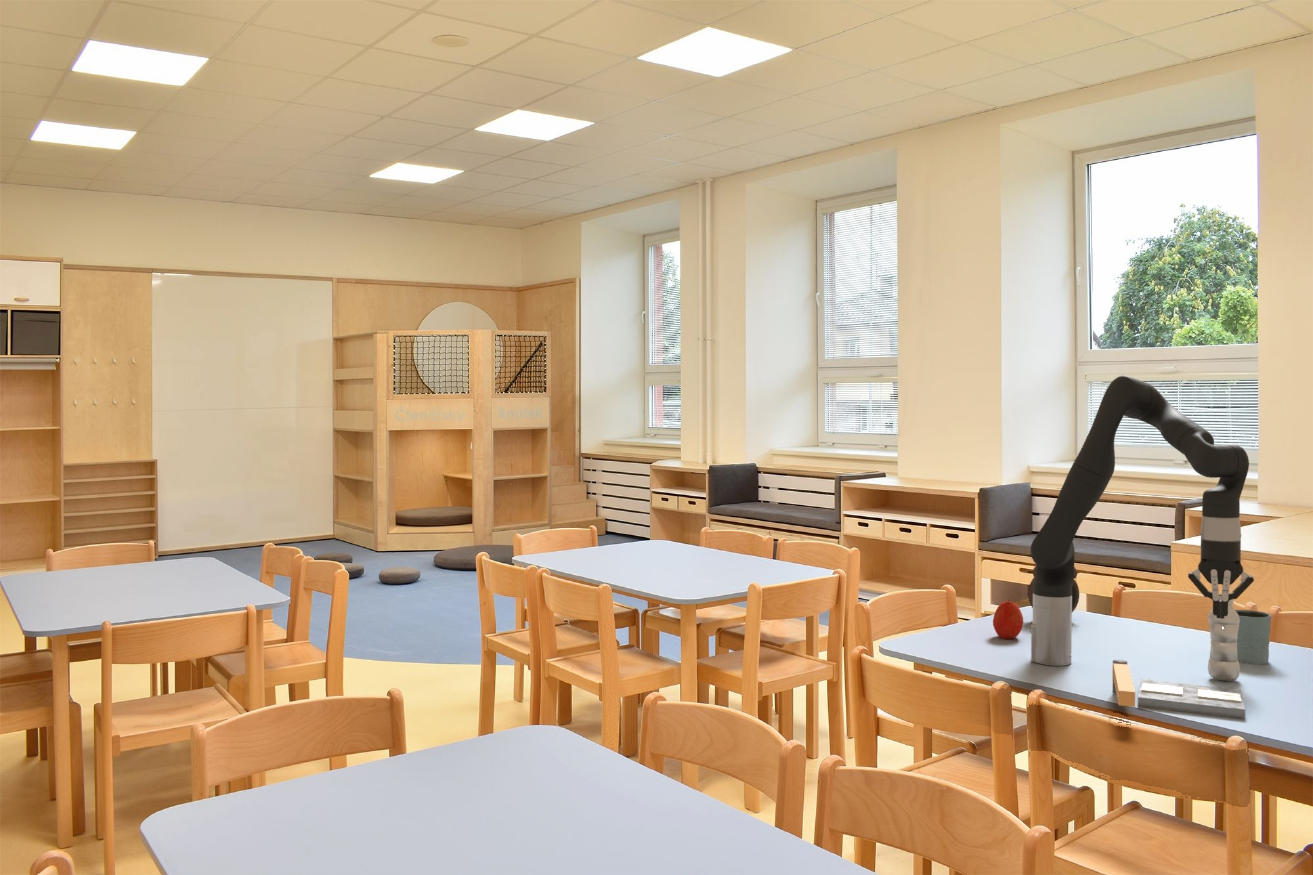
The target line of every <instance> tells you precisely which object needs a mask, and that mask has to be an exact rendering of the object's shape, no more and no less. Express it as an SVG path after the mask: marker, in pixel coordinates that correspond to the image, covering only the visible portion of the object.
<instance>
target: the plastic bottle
mask: <svg viewBox="0 0 1313 875" xmlns="http://www.w3.org/2000/svg"><path fill="white" fill-rule="evenodd" d="M1221 596H1222V593H1219V600H1221ZM1234 603H1235V602H1234V599H1232V600H1230V601H1229V602H1228V615H1227V616H1224V619H1221V618H1217V617H1216V615H1214V614H1213V608H1212V609H1211V610H1210V611H1209V612H1208V615H1207V619H1208V620H1207V621H1208V626H1209V627H1208V628H1209V633H1210V634H1209V636H1210V650H1209V658H1208V662H1207V671H1208V674H1209V675H1210V677H1211V678H1213V679H1214V680H1219V681H1224V682H1228V681H1230V682H1231V681H1237V679H1238V678H1239V677H1240V672H1241V668H1240V667H1241V666H1240V662H1238V655H1237V635H1238V629H1239V622H1240V618H1239V615H1238V614H1237V612H1236V611H1235V610H1236V609H1235V608H1234V607H1233V605H1234Z"/></svg>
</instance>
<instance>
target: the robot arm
mask: <svg viewBox="0 0 1313 875" xmlns="http://www.w3.org/2000/svg"><path fill="white" fill-rule="evenodd" d="M1124 417H1126V418H1129V419H1133V420H1138V421H1141V422H1144V423H1146V424H1148V425H1151V426H1153V427H1154V428H1155V429H1156V430H1158V431H1159V432H1160V434H1161V436H1162V438H1163V439H1164V440H1165V441H1166V442H1167V443H1168V444H1169V445H1170V446H1171V447H1173V448H1175V449H1176V450H1177V451H1178V452H1179V453H1181V454H1182V455H1184V457H1185V458H1186V459H1187V461H1188V463H1189V464H1190V465H1191V467H1192V469H1193V470H1194V471H1195V472H1196V473H1198V474H1199V476H1200V475H1201V476H1203V477H1205V478H1209V479H1210V478H1211V479H1214V478H1219V479H1218V482H1217V484H1216V485H1215V486H1214V487H1211V488H1208V489H1206V490H1205V491H1203V493H1202V507H1201V508H1202V509H1201V510H1202V512H1201V514H1202V515H1201V524H1200V561H1199V563H1198V565H1197V568H1196V569H1194V570H1193V571H1190V572H1188V573H1187V577H1188V579H1189V581H1191V583H1193V585H1194V586H1195V588H1197V590H1198V591H1199V592H1200V594H1201V595H1203V597H1204V598H1209V599H1210V600H1212V609H1213V614H1214V615H1216V617H1217V618H1221V619H1224V616H1227V615H1228V602H1229V601H1230V600H1232V599H1233V600H1237V599H1238V598H1239V597H1240V596H1241V595H1242V594H1243V593H1244V592H1246V590H1247V589H1248V588H1249V587H1250V585H1252V584H1253V582H1255V579H1254V576H1253V575H1250V574H1248V572H1245V571H1244V568H1243V565H1242V563H1241V561H1242V560H1241V558H1242V557H1241V556H1242V555H1241V554H1242V553H1241V552H1242V551H1241V548H1242V545H1241V544H1242V526H1241V521H1240V516H1241V515H1240V514H1241V513H1240V512H1241V510H1240V509H1241V508H1240V507H1241V506H1240V501H1241V495H1242V494H1243V493H1242V492H1243V489H1244V487H1245V486H1244V485H1245V483H1246V479H1247V476H1248V472H1249V469H1250V468H1249V467H1250V459H1249V456H1248V453H1247V452H1246V450H1245V449H1244V448H1243V447H1242V446H1240V445H1238V444H1215V439H1214V437H1213V435H1212V434H1211V433H1210V432H1209V431H1208V430H1206V429H1205V428H1204V427H1203V426H1201V425H1199V424H1198V423H1197V422H1195V421H1193V420H1192V419H1191V418H1189V417H1188V416H1186V415H1185V414H1183V413H1181V412H1180V411H1179V410H1177V409H1176V407H1174V406H1173V405H1172V404H1171V403H1170V402H1169V401H1168V400H1167V399H1166V398H1165V397H1164V395H1162V394H1161V393H1160V391H1159V390H1158V389H1157V388H1156V387H1155V386H1153V385H1152V384H1151V383H1148V382H1146V381H1143V380H1140V379H1137V378H1134V377H1132V376H1129V375H1120V376H1117V377H1116V378H1114V379H1113V380H1112V381H1111V382H1110V384H1109V385H1108V386H1107V388H1106V390H1105V392H1104V394H1103V396H1102V399H1101V401H1100V404H1099V406H1098V409H1097V412H1096V415H1095V417H1094V420H1093V422H1092V425H1091V427H1090V429H1089V432H1088V433H1087V436H1086V437H1085V441H1084V442H1083V444H1082V446H1081V449H1080V451H1079V452H1078V454H1077V455H1076V458H1075V459H1074V461H1073V463H1072V464H1071V467H1070V469H1069V471H1068V472H1067V475H1066V477H1065V479H1064V482H1063V485H1062V487H1061V488H1060V491H1059V493H1058V496H1057V499H1056V501H1055V503H1054V506H1053V507H1052V511H1051V512H1050V514H1049V516H1048V517H1047V519H1046V521H1045V522H1044V523H1043V525H1042V527H1041V528H1040V530H1039V531H1038V533H1037V534H1036V536H1035V537H1034V539H1033V540H1032V541H1031V545H1030V556H1031V560H1032V561H1033V563H1034V564H1035V566H1036V575H1035V579H1034V582H1033V608H1032V623H1031V627H1030V628H1031V629H1030V630H1031V631H1030V634H1031V636H1030V639H1031V640H1030V641H1031V642H1030V645H1031V646H1030V662H1031V663H1037V664H1041V665H1046V666H1055V667H1056V666H1057V667H1058V666H1060V667H1061V666H1068V665H1071V664H1072V656H1073V653H1072V650H1073V649H1072V648H1073V647H1072V646H1073V645H1072V644H1073V643H1072V642H1073V641H1072V638H1073V637H1072V634H1073V632H1072V631H1073V629H1072V627H1073V626H1072V625H1073V624H1072V623H1073V612H1072V586H1073V582H1074V580H1075V579H1074V567H1075V557H1076V556H1075V545H1074V539H1075V537H1076V534H1077V532H1078V529H1079V528H1080V526H1081V524H1082V523H1083V521H1084V520H1085V518H1087V516H1088V515H1089V513H1090V512H1091V511H1092V510H1093V508H1095V506H1096V504H1097V503H1098V502H1099V500H1100V499H1101V497H1102V496H1103V494H1104V492H1105V490H1106V489H1107V487H1108V485H1109V483H1110V481H1111V479H1112V477H1113V475H1114V472H1115V468H1116V457H1115V456H1116V453H1115V439H1116V438H1115V437H1116V435H1117V434H1116V433H1117V431H1118V428H1119V426H1120V424H1121V422H1122V420H1123V418H1124ZM1201 575H1202V577H1203V578H1204V579H1205V580H1206V582H1208V583H1209V584H1210V585H1211V591H1210V590H1208V589H1207V587H1206V586H1205V585H1204V584H1203V582H1202V581H1201V578H1202V577H1201ZM1239 577H1240V579H1239V580H1240V583H1239V584H1238V585H1237V587H1235V589H1233V590H1232V592H1230V586H1231V585H1233V584H1234V583H1235V582H1236V581H1237V579H1238V578H1239ZM1219 585H1221V594H1222V596H1221V600H1219V594H1220V593H1219V590H1220V589H1219Z"/></svg>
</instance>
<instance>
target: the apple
mask: <svg viewBox="0 0 1313 875" xmlns="http://www.w3.org/2000/svg"><path fill="white" fill-rule="evenodd" d="M992 626H993V629H994V632H995V633H996V634H997V636H998V638H1001V639H1002V640H1003V639H1004V640H1012V639H1015V638H1017V637H1018V636H1019V635H1020V634H1021V632H1022V629H1023V627H1024V617H1023V613H1022V611H1021V609H1020V607H1019V605H1018V604H1016V603H1015V602H1013V601H1010V600H1009V599H1008V601H1002V602H1001V603H1000V604H999V605H998V606H997V607H996V610H995V612H994V614H993V620H992Z"/></svg>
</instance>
